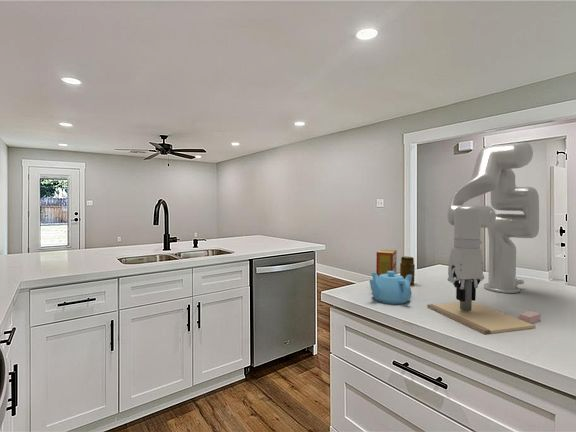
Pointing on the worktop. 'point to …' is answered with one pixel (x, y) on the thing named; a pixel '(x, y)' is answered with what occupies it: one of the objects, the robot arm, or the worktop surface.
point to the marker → (467, 296)
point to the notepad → (481, 318)
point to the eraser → (530, 317)
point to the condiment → (408, 268)
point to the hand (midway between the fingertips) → (465, 299)
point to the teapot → (391, 288)
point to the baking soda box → (386, 261)
